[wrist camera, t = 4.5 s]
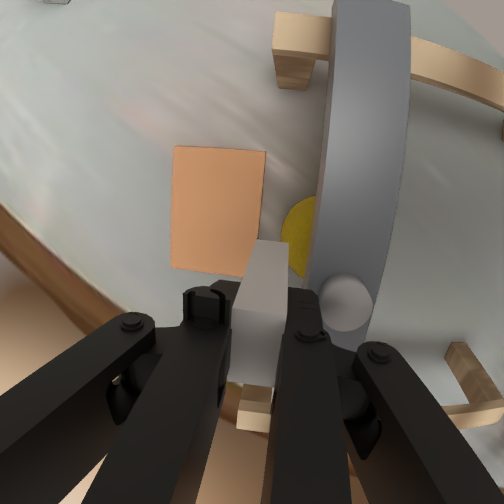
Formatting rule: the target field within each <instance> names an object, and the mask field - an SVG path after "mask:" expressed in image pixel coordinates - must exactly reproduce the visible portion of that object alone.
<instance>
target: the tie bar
mask: <svg viewBox="0 0 504 504" xmlns="http://www.w3.org/2000/svg"><path fill="white" fill-rule="evenodd" d="M410 77H411V19H410V6H409V5H406V4H402V3H399V2H395V1H392V0H334V2H333V6H332V18H331V39H330V56H329V71H328V85H327V97H326V109H325V120H324V130H323V140H322V149H321V158H320V167H319V176H318V184H317V192H316V200H315V208H314V215H313V222H312V229H311V236H310V243H309V250H308V256H307V263H306V269H305V276H304V282H303V288H302V289H309V290H313V291H314V293H315V294H316V295H317V296H318V298H319V305H320V311H321V316H322V323H323V329H324V330H326V331H327V332H328V333H329V335H330V337H331V342H332V343H333V344H334V345H336V346H338V347H341V348H343V349H347V350H350V351H354V352H357V349H358V346H360V345H361V344H362V343H364V340H365V336H366V333H367V330H368V326H369V323H370V320H371V316H372V313H373V309H374V305H375V302H376V298H377V294H378V291H379V287H380V283H381V279H382V275H383V270H384V266H385V262H386V258H387V253H388V249H389V244H390V239H391V234H392V229H393V224H394V219H395V213H396V208H397V202H398V196H399V190H400V183H401V176H402V169H403V162H404V154H405V145H406V136H407V125H408V113H409V98H410Z"/></svg>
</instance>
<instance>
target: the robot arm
mask: <svg viewBox="0 0 504 504" xmlns="http://www.w3.org/2000/svg"><path fill="white" fill-rule="evenodd" d="M288 255H289V243H285V242H276V241H268V240H259V239H256V242H255V245H254V247H253V250H252V253H251V256H250V259H249V261H248V264H247V267H246V270H245V273H244V276H243V278H242V281H241V282H234V281H226V280H218V281H217V282H215V283H213V284H212V285H211V286H210V287H209V286H200V287H194V288H191V289H188V290H187V291H185V292H184V293H183V321H182V322H181V324H180V326H177V327H161V328H155V321H154V320H153V319H152V317H150V316H148V315H147V314H143V313H139V312H128V313H124V314H120V315H118V316H116V317H114V318H113V319H111V320H110V321H108V322H107V323H105V324H104V325H102V326H101V327H99V328H98V329H96V330H95V331H93V332H92V333H90V334H89V335H88V336H86V337H85V338H83V339H82V340H80V341H79V342H77V343H76V344H74V345H73V346H71V347H70V348H69V349H67V350H66V351H64V352H63V353H61V354H60V355H58V356H57V357H55V358H54V359H52V360H51V361H49V362H48V363H47V364H45V365H44V366H42V367H41V368H39V369H38V370H37V371H35V372H34V373H32V374H31V375H29V376H28V377H26V378H25V379H24V380H22V381H21V382H19V383H18V384H16V385H15V386H14V387H12V388H11V389H9V390H8V391H7V392H5V393H4V394H2V395H1V396H0V504H58V503H60V502H61V500H62V499H64V498H65V496H66V495H68V493H69V492H70V491H71V490H72V489H73V488H74V487H75V486H76V485H77V484H78V483H79V482H80V481H81V480H82V479H83V478H84V477H85V476H86V475H87V474H88V473H89V472H90V471H91V470H92V469H93V468H94V467H95V466H96V465H97V464H98V463H99V462H100V461H101V460H102V459H103V458H104V456H105V455H106V454H107V453H108V454H107V456H106V457H105V459H104V461H103V463H102V465H101V467H100V469H99V471H98V472H97V474H96V476H95V478H94V480H93V482H92V484H91V486H90V488H89V489H88V491H87V493H86V495H85V497H84V499H83V501H82V503H81V504H195V502H196V499H197V495H198V492H199V488H200V484H201V481H202V477H203V474H204V470H205V466H206V462H207V459H208V455H209V452H210V448H211V444H212V440H213V436H214V433H215V429H216V425H217V422H218V418H219V414H220V411H221V407H222V403H223V399H224V396H225V389H226V379H227V375H228V381H230V382H236V383H243V384H250V385H258V386H266V387H275V388H274V394H273V399H272V404H271V410H270V415H271V419H270V428H269V437H268V447H267V455H266V464H265V472H264V480H263V488H262V497H261V503H260V504H352V501H351V490H350V478H349V468H348V458H347V452H348V455H349V457H350V459H351V462H352V464H353V466H354V469H355V471H356V474H357V476H358V478H359V481H360V483H361V485H362V488H363V490H364V492H365V495H366V497H367V500H368V502H369V504H504V495H503V494H502V492H501V491H500V489H499V488H498V486H497V485H496V483H495V482H494V480H493V479H492V477H491V476H490V474H489V473H488V471H487V470H486V468H485V467H484V465H483V464H482V462H481V461H480V460H479V458H478V457H477V455H476V454H475V452H474V451H473V450H472V448H471V447H470V445H469V444H468V443H467V441H466V440H465V438H464V437H463V436H462V434H461V433H460V431H459V430H458V429H457V427H456V426H455V425H454V423H453V422H452V420H451V419H450V418H449V416H448V415H447V414H446V412H445V411H444V410H443V408H442V407H441V406H440V404H439V403H438V402H437V400H436V399H435V398H434V396H433V395H432V394H431V392H430V391H429V390H428V389H427V387H426V386H425V385H424V383H423V382H422V381H421V379H420V378H419V377H418V376H417V374H416V373H415V372H414V371H413V369H412V368H411V367H410V365H409V364H408V363H407V362H406V360H405V359H404V358H403V357H402V355H401V354H400V353H399V352H398V351H397V350H396V349H395V348H394V347H392V346H390V345H388V344H386V343H381V342H372V341H370V342H366V343H362V344H361V345H360V346H358V349H357V352H354V351H350V350H347V349H343V348H341V347H338V346H336V345H334V344H333V343H332V342H331V337H330V335H329V333H328V332H327V331H326V330H324V329H323V323H322V316H321V311H320V305H319V298H318V296H317V295H316V294H315V293H314V291H313V290H309V289H300V288H292V287H288ZM118 375H119V378H117V379H116V380H115V381H113V382H112V380H114V379H115V378H116V377H117V376H118Z"/></svg>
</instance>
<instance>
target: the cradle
mask: <svg viewBox="0 0 504 504" xmlns="http://www.w3.org/2000/svg"><path fill="white" fill-rule="evenodd" d="M330 39H331V18H329V17H323V16H315V15H307V14H298V13H287V12H275V19H274V30H273V41H272V53H273V58H274V64H275V70H276V75H277V81H278V87H279V88H283V89H293V90H302V91H306V89H307V85H308V82H309V79H310V76H311V73H312V70H313V67H314V64H315V61H316V59H317V60H324V61H329V56H330ZM410 79H414V80H417V81H421V82H424V83H427V84H430V85H434V86H437V87H440V88H443V89H446V90H449V91H452V92H455V93H457V94H460V95H463V96H466V97H468V98H471V99H473V100H476V101H478V102H481V103H483V104H486V105H488V106H491V107H493V108H495V109H497V110H500V111H502V112H504V73H503V72H501V71H499V70H497V69H495V68H493V67H491V66H489V65H487V64H485V63H482V62H480V61H478V60H476V59H473V58H471V57H469V56H466V55H464V54H461V53H459V52H456V51H454V50H451V49H449V48H446V47H443V46H440V45H438V44H435V43H432V42H429V41H426V40H423V39H420V38H416V37H413V36H411V77H410ZM502 141H504V120H503V136H502ZM444 359H445V360H446V362H447V364H448V365H449V367H450V369H451V370H452V372H453V374H454V376H455V377H456V379H457V381H458V383H459V385H460V386H461V388H462V390H463V392H464V394H465V395H466V397H467V399H468V401H469V403H470V404H462V405H453V406H441V407H442V408H443V410H444V411H445V412H446V414H447V415H448V416H449V418H450V419H451V420H452V422H453V423H454V425H455V426H456V427H457V429H458V430H459V429H466V428H472V427H478V426H483V425H488V424H493V423H497V422H498V420H499V419H500V418H501V416H502V415H503V413H504V398H503V397H502V395H501V394H500V392H499V390H498V389H497V387H496V386H495V384H494V383H493V381H492V380H491V378H490V377H489V375H488V374H487V372H486V371H485V369H484V368H483V366H482V365H481V363H480V362H479V361H478V359H477V358H476V356H475V355H474V353H473V352H472V351H471V349H470V348H469V346H468V345H467V344H466V343H451V345H450V347H449V349H448V352H447V354H446V356H445V358H444ZM271 394H272V387H266V386H258V385H250V384H243V389H242V394H241V399H240V404H239V408H238V417H237V428H238V429H244V430H252V431H260V432H268V433H269V428H270V419H271V415H270V410H271V404H272V403H271Z"/></svg>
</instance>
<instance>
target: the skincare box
mask: <svg viewBox="0 0 504 504" xmlns="http://www.w3.org/2000/svg"><path fill="white" fill-rule="evenodd" d="M40 1H42V2H44V3H64V4H67V3H68V2H69V0H40Z"/></svg>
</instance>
